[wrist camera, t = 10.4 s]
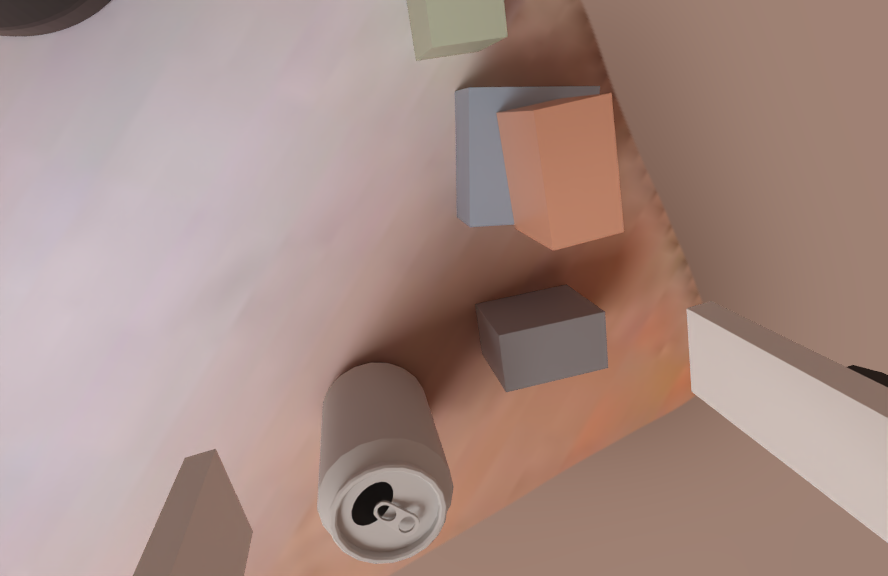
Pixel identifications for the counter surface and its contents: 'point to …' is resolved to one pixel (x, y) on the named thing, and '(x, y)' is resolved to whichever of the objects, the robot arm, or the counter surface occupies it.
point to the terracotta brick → (563, 170)
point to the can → (381, 465)
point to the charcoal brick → (542, 337)
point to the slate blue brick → (491, 147)
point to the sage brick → (455, 26)
